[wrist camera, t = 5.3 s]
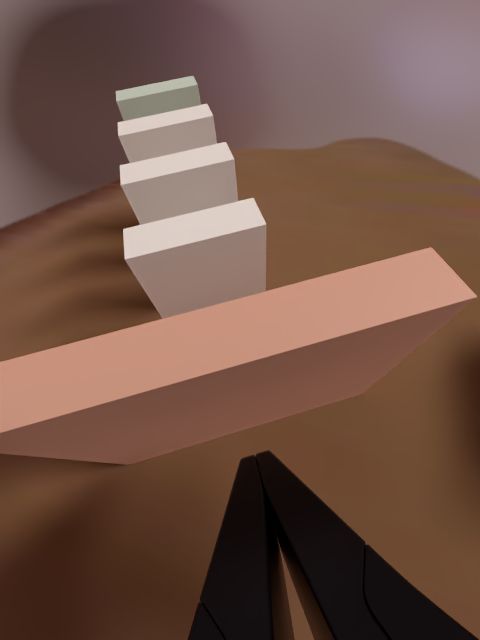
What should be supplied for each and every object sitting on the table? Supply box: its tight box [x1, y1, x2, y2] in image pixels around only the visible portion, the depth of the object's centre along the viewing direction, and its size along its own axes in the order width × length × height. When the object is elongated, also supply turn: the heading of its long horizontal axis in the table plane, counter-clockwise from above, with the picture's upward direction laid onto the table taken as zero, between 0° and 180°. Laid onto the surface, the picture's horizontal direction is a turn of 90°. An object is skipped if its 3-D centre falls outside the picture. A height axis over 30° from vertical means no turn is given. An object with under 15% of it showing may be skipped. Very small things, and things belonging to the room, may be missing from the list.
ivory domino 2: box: [120, 142, 238, 225], centre depth 16 cm, size 2×5×10 cm, turn 105°
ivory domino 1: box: [118, 104, 217, 163], centre depth 18 cm, size 2×5×10 cm, turn 106°
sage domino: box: [116, 76, 201, 121], centre depth 21 cm, size 2×5×10 cm, turn 105°
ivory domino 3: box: [123, 198, 266, 319], centre depth 14 cm, size 2×5×10 cm, turn 105°
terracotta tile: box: [0, 247, 477, 465], centre depth 12 cm, size 2×14×10 cm, turn 105°
